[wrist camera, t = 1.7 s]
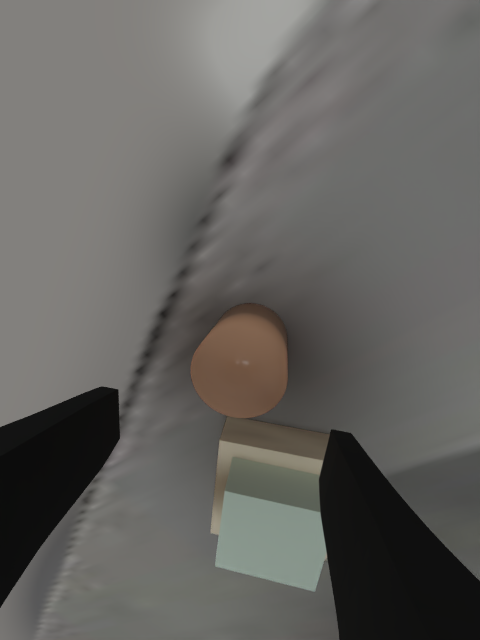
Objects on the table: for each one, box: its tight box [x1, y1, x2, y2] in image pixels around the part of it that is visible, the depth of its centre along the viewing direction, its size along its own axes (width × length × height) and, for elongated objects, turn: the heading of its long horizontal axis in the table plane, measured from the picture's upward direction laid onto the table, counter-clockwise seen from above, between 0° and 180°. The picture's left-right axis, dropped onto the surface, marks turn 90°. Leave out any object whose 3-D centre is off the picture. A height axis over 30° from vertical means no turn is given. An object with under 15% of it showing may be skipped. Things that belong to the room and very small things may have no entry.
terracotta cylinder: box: [191, 303, 288, 418], centre depth 16 cm, size 5×5×5 cm
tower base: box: [210, 416, 330, 560], centre depth 20 cm, size 8×8×3 cm
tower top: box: [215, 457, 327, 592], centre depth 17 cm, size 6×6×2 cm
